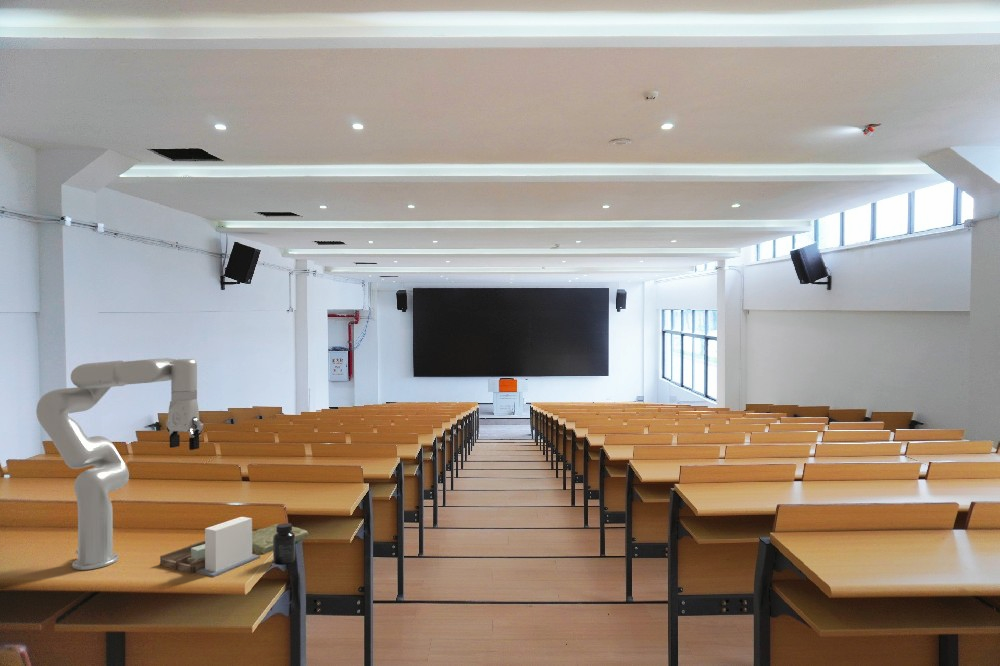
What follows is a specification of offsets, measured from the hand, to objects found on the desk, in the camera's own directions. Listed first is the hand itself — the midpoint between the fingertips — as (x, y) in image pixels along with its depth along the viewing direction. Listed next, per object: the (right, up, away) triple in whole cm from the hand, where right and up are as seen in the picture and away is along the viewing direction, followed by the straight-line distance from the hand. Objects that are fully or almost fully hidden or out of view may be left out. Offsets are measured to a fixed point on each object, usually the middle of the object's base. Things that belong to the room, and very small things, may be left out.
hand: (184, 448), depth 194 cm
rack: (+4, -38, +4) cm, 39 cm away
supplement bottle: (+32, -38, +2) cm, 50 cm away
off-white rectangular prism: (+15, -38, -1) cm, 41 cm away
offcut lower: (+7, -39, +2) cm, 39 cm away
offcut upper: (+7, -36, +2) cm, 36 cm away
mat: (+15, -38, -1) cm, 41 cm away
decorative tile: (+20, -39, +21) cm, 49 cm away
